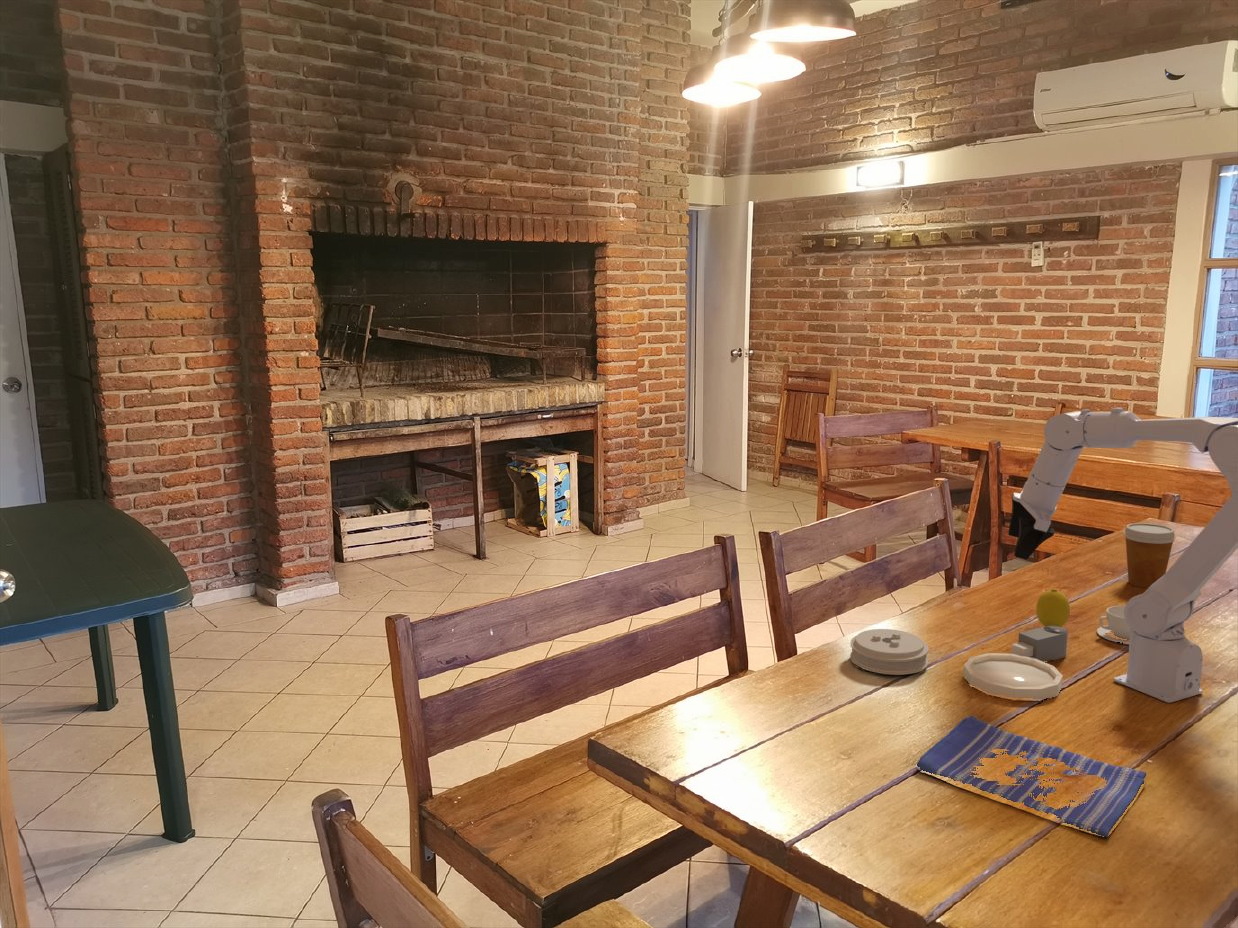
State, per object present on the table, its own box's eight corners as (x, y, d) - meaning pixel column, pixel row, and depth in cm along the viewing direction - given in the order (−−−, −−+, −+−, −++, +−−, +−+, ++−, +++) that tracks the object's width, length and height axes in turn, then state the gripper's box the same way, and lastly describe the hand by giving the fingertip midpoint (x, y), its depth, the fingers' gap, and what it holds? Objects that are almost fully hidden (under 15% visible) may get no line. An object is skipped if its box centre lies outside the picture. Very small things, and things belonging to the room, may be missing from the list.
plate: (1080, 689, 143) (1081, 677, 142) (1014, 708, 137) (1015, 695, 137) (1009, 659, 155) (1009, 647, 155) (946, 674, 150) (946, 663, 149)
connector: (1071, 656, 156) (1072, 631, 155) (1026, 667, 152) (1027, 642, 151) (1052, 648, 159) (1054, 624, 158) (1008, 659, 155) (1009, 635, 154)
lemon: (1064, 638, 164) (1067, 595, 162) (1031, 632, 167) (1034, 590, 165) (1071, 629, 168) (1074, 587, 166) (1039, 623, 171) (1041, 582, 170)
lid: (899, 687, 146) (900, 657, 145) (834, 664, 156) (835, 636, 155) (943, 665, 154) (944, 637, 153) (879, 644, 164) (879, 618, 163)
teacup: (1144, 627, 168) (1146, 603, 167) (1170, 648, 158) (1172, 622, 158) (1087, 627, 169) (1089, 603, 168) (1109, 647, 160) (1111, 622, 159)
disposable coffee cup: (1125, 589, 189) (1129, 532, 187) (1115, 575, 198) (1119, 521, 196) (1177, 592, 186) (1182, 535, 184) (1164, 578, 195) (1169, 523, 193)
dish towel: (966, 729, 132) (966, 710, 132) (1149, 786, 116) (1151, 766, 115) (910, 775, 120) (911, 755, 120) (1106, 846, 104) (1108, 824, 103)
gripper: (1017, 454, 160) (989, 520, 166) (1030, 490, 147) (999, 560, 153) (1059, 465, 159) (1028, 531, 165) (1075, 502, 146) (1042, 572, 152)
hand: (1017, 546), depth 159 cm, fingers open, 7 cm apart
